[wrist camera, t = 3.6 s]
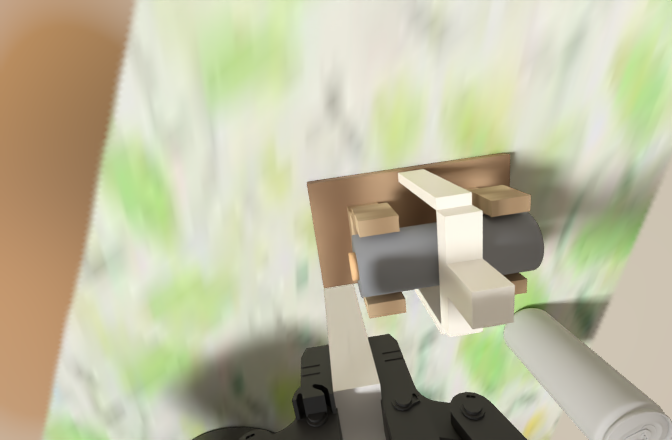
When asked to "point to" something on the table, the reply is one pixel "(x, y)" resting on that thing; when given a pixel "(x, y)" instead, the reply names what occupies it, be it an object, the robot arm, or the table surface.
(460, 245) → the white bar frame
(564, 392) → the beverage can
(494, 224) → the grey capped cylinder
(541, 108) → the table surface
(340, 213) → the cradle board
